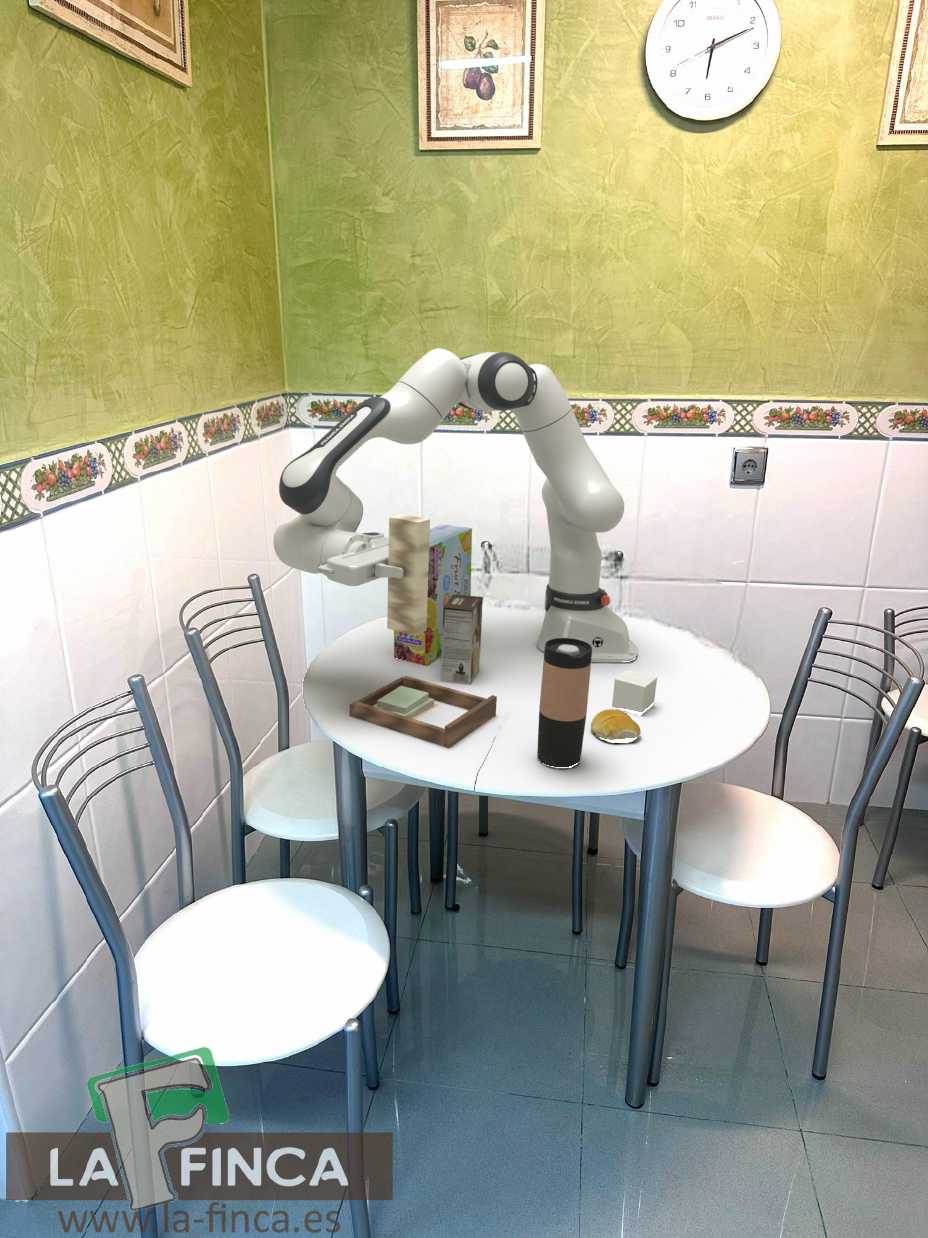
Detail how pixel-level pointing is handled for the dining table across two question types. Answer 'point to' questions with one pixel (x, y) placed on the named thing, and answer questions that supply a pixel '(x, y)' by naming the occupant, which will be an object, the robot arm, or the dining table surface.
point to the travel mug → (563, 701)
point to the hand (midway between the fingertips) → (412, 570)
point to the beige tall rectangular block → (408, 574)
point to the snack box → (439, 591)
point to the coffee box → (461, 639)
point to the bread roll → (614, 725)
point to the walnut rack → (446, 737)
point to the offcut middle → (417, 710)
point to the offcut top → (402, 699)
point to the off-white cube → (634, 691)
